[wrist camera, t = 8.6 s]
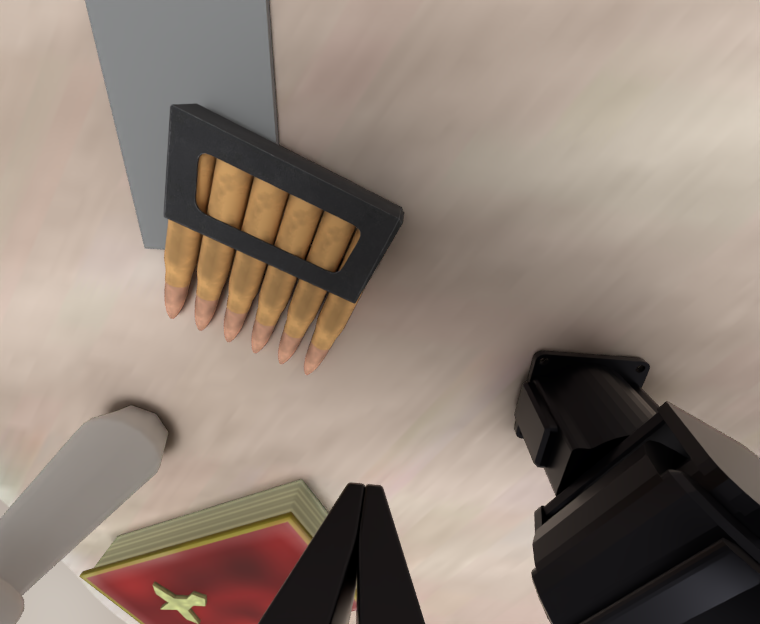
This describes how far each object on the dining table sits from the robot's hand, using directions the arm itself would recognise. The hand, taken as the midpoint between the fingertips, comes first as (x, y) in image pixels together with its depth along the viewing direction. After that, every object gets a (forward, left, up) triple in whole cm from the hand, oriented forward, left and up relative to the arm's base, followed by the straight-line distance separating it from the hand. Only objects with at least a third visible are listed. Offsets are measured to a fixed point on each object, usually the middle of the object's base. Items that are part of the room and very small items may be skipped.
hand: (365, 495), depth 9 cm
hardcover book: (+12, +26, -14) cm, 32 cm away
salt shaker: (+18, +12, -13) cm, 25 cm away
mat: (+10, -8, -13) cm, 18 cm away
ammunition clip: (+4, -7, -11) cm, 14 cm away
